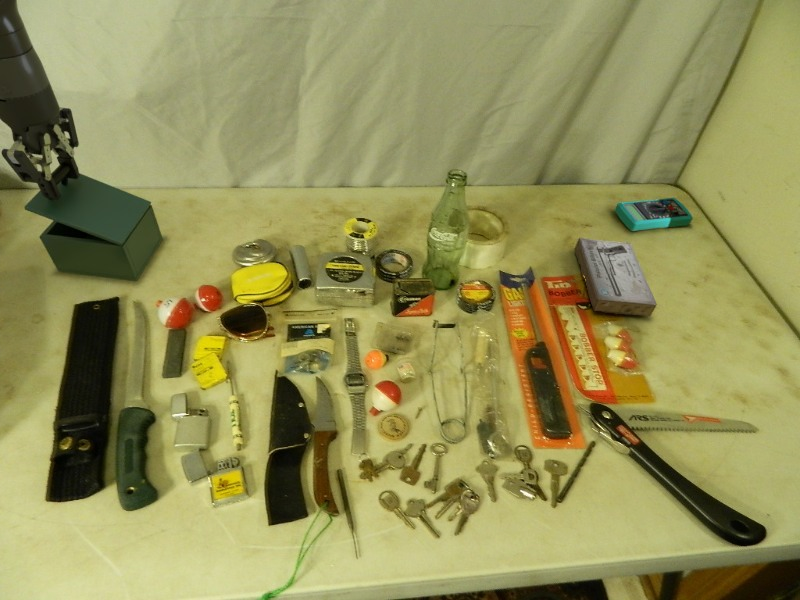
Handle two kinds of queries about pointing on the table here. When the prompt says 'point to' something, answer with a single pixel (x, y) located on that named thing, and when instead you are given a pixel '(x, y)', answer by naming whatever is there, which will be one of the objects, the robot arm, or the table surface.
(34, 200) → the lid
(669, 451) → the table surface
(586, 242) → the box
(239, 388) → the table surface
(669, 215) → the digital multimeter
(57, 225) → the case
